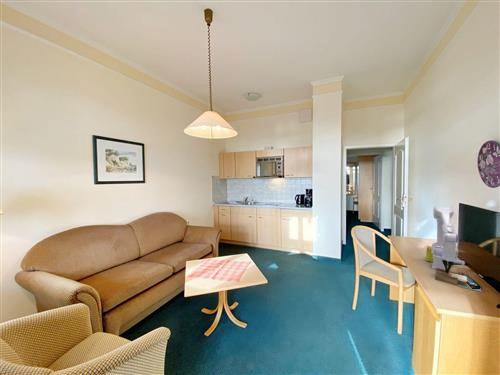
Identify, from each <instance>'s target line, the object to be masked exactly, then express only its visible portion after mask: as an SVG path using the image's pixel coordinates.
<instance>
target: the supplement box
mask: <svg viewBox="0 0 500 375" xmlns="http://www.w3.org/2000/svg"><path fill="white" fill-rule="evenodd" d="M431 248H432V245H431V246H429V245H426V256H425V261H426V262H427V263H432V264H433V259H434V258H433V254H432V253H431Z"/></svg>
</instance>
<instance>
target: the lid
mask: <svg viewBox="0 0 500 375" xmlns="http://www.w3.org/2000/svg"><path fill="white" fill-rule="evenodd" d="M452 272H453V271H452V270H451V269H450V270H449V276H453V277H457V278H458V280H460V281H464V282H467V281H468V278H467V276H465V275H461V274H458V273H457V274H454V273H452Z"/></svg>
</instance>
